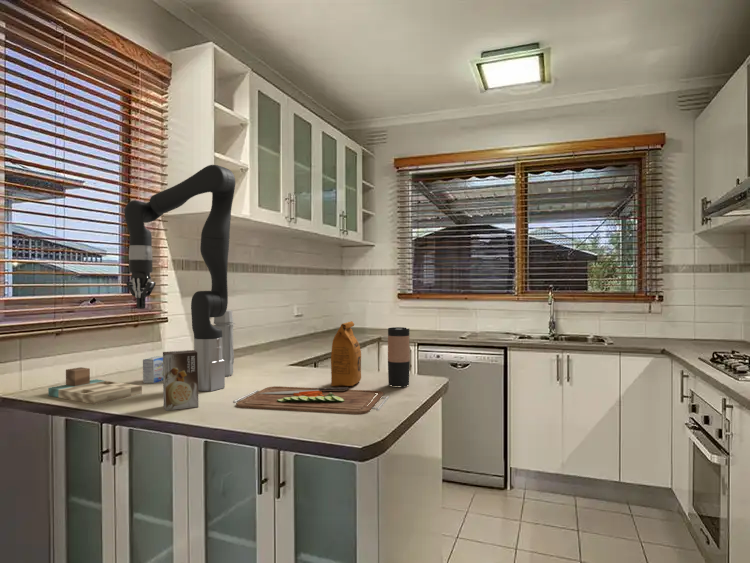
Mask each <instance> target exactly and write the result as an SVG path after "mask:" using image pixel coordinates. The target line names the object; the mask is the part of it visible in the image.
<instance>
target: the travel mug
mask: <svg viewBox="0 0 750 563" xmlns="http://www.w3.org/2000/svg"><path fill="white" fill-rule="evenodd" d="M410 349H411V348H410V328H407V327H401V326H399V327H397V326H396V327H388V329H387V376H388V377H387V378H388V386H389V385H392V386H407V385H409V386H410V360H411V356H410V355H411V353H410V352H411V350H410Z"/></svg>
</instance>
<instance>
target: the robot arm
mask: <svg viewBox="0 0 750 563" xmlns="http://www.w3.org/2000/svg"><path fill="white" fill-rule="evenodd" d="M235 189H236V177H235V174H234V173H233V172H232V170H230V168H227V167H225V166H221V165H217V164H209V165H206V166H205V167H203V168H202V169H200V170H199V171H197V172H195V173H194V174H193V175H191V176H190V177H188V178H187V179H184V180H183V181H181V182H180V183H177V184H175V185H174V186H171V187H169V188H166V189H164V190H162V191H159V192H157V193H155V194H153V195H151V197H150V198H149V201H147V202H144V201H139V200H131V201H129V202H127V203H126V205H125V208H124V218H125V223H126V225H127V230H128V232H129V249H128V272H129V273H131V276H130V281H126V286H127V288H128V290H129V292H130V295H131V296H132V297H135V298H136V299H135V300H136V309H137V310H144V309H146V298H147V297H150V296H151V294H152V292H153V290H154V288H155V287H156V284H157V283H156V281H153V280H152V276H151V274H152V273H153V269H154V268H153V266H154V265H153V247H152V245H153V244H152V241H153V240H152V239H153V238H152V236H153V235H152V231H151V230H149V229H147V227H146V226H145V224H147V223H152V222H155V221H156V220H158V218H160V217H162V216H163V214H166V213H168V212H171V211H173V210H177V209H178V208H180V207H181V206H183V205H185V203H186V202H188V200H190V199H191V198H193V197H195V196H198V195H202V194H206V193H211V195H212V196H211V197H212V198H211V208H210V211H209V214H208V216H207V218H206V220H205V222H204V224H203V227H202V230H201V232H200V233H201V235H200V251H199V252H200V255H201V257H202V259H203V262H204V264H205V265H206V268H207V270H208V271H209V274H210V278H211V288H210V289H211V290H198V291H196V292H195V293H193V295H192V298H191V301H190V302H191V303H190V313H191V326H192V327H191V328H192V332H193V350H195V351H196V352H197V355H198V392H199V391H200V392H202V391H203V392H209V391H210V392H211V391H212V392H213V391H217V390H220V389H224V388H225V385H226V383H225V382H226V377H225V361H224V360H222V330H221V329H220V328H217V327H214V324H212V323H211V318H214V317H221V316H223V315H224V314H225V312H226V310H228V304H229V298H228V296H229V295H228V292H229V291H228V290H229V289H228V266H229V265H228V263H229V252H230V250H229V249H230V230H231V219H232V207H233V201H234V194H235V191H236V190H235Z"/></svg>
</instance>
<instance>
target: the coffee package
mask: <svg viewBox="0 0 750 563" xmlns="http://www.w3.org/2000/svg"><path fill="white" fill-rule="evenodd" d="M354 326H355V323H354V321H351V320H350V321H348V322H344V323H341V324H340V327H339V329H338V330H337V332H336V334H334V338H333V340H332V344H331V350H330V351H331V352H330V354H331V355H330V371H331V372H330V374H331V379H330V380H331V382H330V386H331V387H353V386H355V385H356V384H358V383H360V381H361V380H362V349H361V346H360V343H359V341H358V340H357V338H356V337H355V334H354V332H353V329H352V327H354Z"/></svg>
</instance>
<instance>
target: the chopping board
mask: <svg viewBox="0 0 750 563" xmlns="http://www.w3.org/2000/svg"><path fill="white" fill-rule="evenodd" d="M349 387H350V386H341V387H325V388H324V387H323V388H322V387H301V386H299V387H298V386H280V385H279V386H278V385H277V386H275V385H274V386H269V387H267V386H266V387H265V388H263V389H261V390H259V389H255V390H253V391H251V392H249V393H247V394H245V395H243V396H241V397H238V398H237V399H235V400H233V401H232V403H234V404H235V406H236V408H239V409H255V410H271V411H273V410H274V411H288V412H289V411H290V412H291V411H292V412H293V411H294V412H307V413H308V412H310V413H326V414H329V413H331V414H343V415H344V414H346V415H347V414H349V415H363V414H369V413H370V412H371V411H372V410H376V411H380V409H381V408H382V407H383V406H384V405H385V404H386V402H387V401H388V400H389V399H390V396H389V395H387V396H386V397H385V396H384V392H383V391H380V390H370V389H369V390H368V389H366V390H365V389H350V388H349ZM375 393H378V395H377V396H376V397H375V398H374V399H373V397H374V396H375V395H376V394H375ZM382 396H383V397H382ZM381 397H382V398H381ZM380 398H381V399H383V400H382V402H381V403H380V404H379V405H378V406H377V407H376V405H377V404H378V403H379V401H380V400H381V399H380ZM372 399H373V401H372V402H371V400H372ZM387 399H388V400H387ZM386 400H387V401H386ZM370 402H371V403H370ZM377 402H378V403H377ZM369 403H370V404H369ZM376 403H377V404H376ZM368 404H369V405H368ZM375 404H376V405H375ZM383 404H384V405H383ZM367 405H368V406H367ZM371 409H372V410H371ZM370 410H371V411H370Z"/></svg>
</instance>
